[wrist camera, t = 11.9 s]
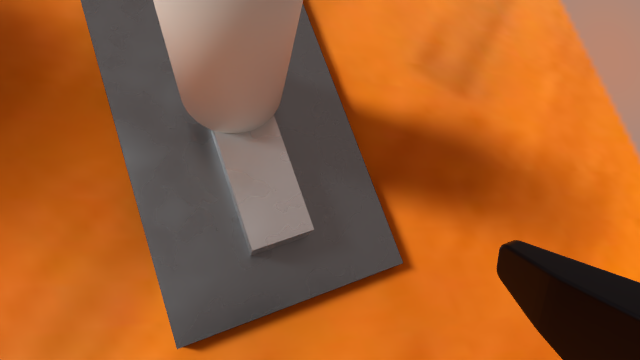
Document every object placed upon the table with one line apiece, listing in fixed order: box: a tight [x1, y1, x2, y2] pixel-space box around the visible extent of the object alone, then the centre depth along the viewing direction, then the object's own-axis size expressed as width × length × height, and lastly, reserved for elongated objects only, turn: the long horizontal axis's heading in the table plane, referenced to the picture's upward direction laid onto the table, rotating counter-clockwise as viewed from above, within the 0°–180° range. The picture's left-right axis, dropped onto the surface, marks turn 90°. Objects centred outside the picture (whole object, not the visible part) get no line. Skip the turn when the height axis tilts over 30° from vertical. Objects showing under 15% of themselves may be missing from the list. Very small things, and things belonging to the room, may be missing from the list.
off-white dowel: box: [153, 0, 303, 134], centre depth 15 cm, size 5×5×13 cm
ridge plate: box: [81, 0, 403, 349], centre depth 23 cm, size 22×12×4 cm, turn 20°
